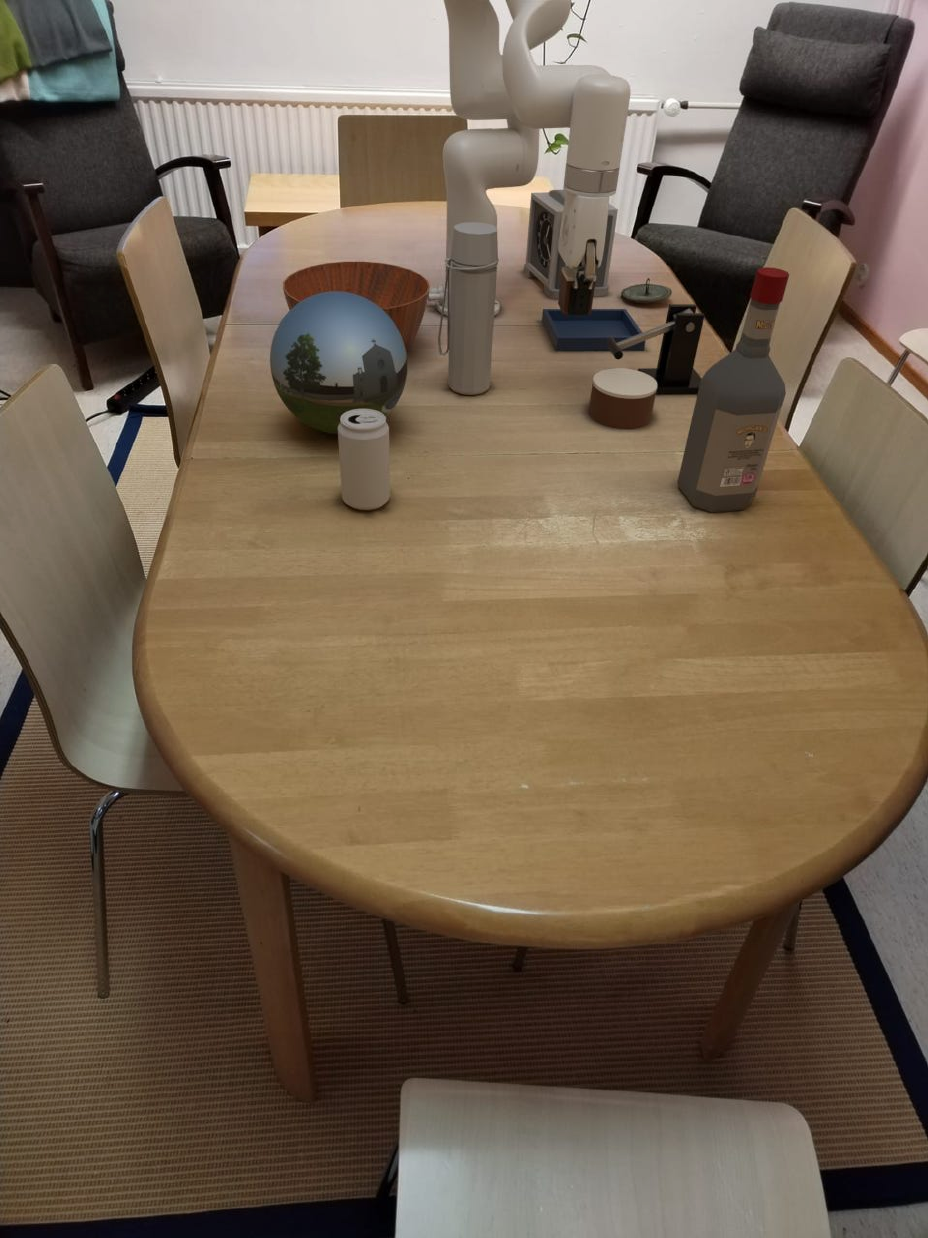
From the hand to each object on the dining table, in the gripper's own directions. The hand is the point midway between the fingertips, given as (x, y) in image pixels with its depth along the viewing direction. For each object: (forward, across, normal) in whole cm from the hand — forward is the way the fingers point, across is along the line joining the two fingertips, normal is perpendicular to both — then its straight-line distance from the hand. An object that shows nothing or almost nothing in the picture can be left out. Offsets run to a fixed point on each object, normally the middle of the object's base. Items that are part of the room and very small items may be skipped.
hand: (574, 306), depth 131 cm
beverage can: (+14, +32, -33) cm, 48 cm away
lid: (+15, -44, +26) cm, 54 cm away
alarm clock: (+15, -55, +11) cm, 58 cm away
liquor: (+14, +33, +15) cm, 39 cm away
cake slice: (0, 0, 0) cm, 0 cm away
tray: (+15, -25, +10) cm, 31 cm away
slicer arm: (+7, -3, +15) cm, 17 cm away
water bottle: (+15, -3, -16) cm, 22 cm away
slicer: (+14, -3, +20) cm, 25 cm away
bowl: (+15, -19, -34) cm, 41 cm away
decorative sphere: (+15, +11, -36) cm, 41 cm away
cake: (+14, +8, +8) cm, 18 cm away
